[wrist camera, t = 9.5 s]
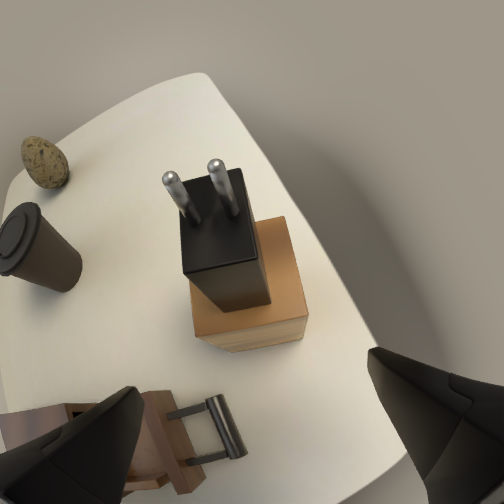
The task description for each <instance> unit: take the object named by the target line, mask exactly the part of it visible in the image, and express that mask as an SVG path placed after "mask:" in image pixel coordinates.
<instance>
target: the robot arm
mask: <svg viewBox="0 0 504 504" xmlns="http://www.w3.org/2000/svg"><path fill="white" fill-rule="evenodd" d="M367 367H368V372H369V374H370V377H371V379H372V382H373V384H374V387H375V390H376V392H377V395H378V397H379V400H380V402H381V404H382V405H383V407H384V409H385V411H386V413H387V414H388V416H389V418H390V420H391V422H392V423H393V425H394V427H395V429H396V431H397V433H398V435H399V436H400V438H401V440H402V442H403V444H404V446H405V448H406V450H407V451H408V453H409V455H410V457H411V459H412V461H413V463H414V465H415V466H416V469H417V471H418V473H419V475H420V476H421V478H422V480H423V482H424V485H425V487H426V490H427V494H428V501H429V504H504V386H499V385H494V384H489V383H485V382H480V381H476V380H472V379H469V378H465V377H462V376H459V375H456V374H453V373H449V372H446V371H443V370H440V369H438V368H435V367H432V366H429V365H426V364H424V363H421V362H418V361H415V360H413V359H410V358H407V357H404V356H402V355H399V354H396V353H394V352H391V351H389V350H386V349H384V348H381V347H375V348H371V349H369V350H368V361H367ZM144 407H145V402H144V399H143V398H142V396H141V395H140V393H139V391H138V390H137V388H136V387H134V386H127V387H125V388H123V389H121V390H120V391H118V392H117V393H115V394H113V395H112V396H110V397H108V398H107V399H105V400H104V401H102V402H100V403H99V404H97V405H95V406H94V407H92V408H90V409H89V410H87V411H85V412H84V413H82V414H80V415H79V416H77V417H75V418H73V419H72V420H70V421H68V422H67V423H65V424H63V425H61V426H59V427H57V428H55V429H54V430H52V431H50V432H48V433H46V434H44V435H42V436H40V437H38V438H36V439H34V440H31V441H29V442H27V443H25V444H23V445H20V446H18V447H16V448H13V449H11V450H9V451H6V452H4V453H2V454H0V504H120V503H121V499H122V495H123V491H124V487H125V484H126V480H127V476H128V473H129V469H130V465H131V462H132V458H133V455H134V451H135V448H136V445H137V441H138V438H139V434H140V430H141V424H142V418H143V413H144Z"/></svg>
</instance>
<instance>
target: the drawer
mask: <svg viewBox="0 0 504 504" xmlns="http://www.w3.org/2000/svg"><path fill="white" fill-rule="evenodd" d="M140 395H141V396H142V398H143V399H144V402H145V407H144V413H143V418H142V424H141V430H140V434H139V438H138V441H137V445H136V448H135V451H134V455H133V458H132V462H131V465H130V469H129V473H128V476H127V480H126V484H125V487H124V491H134V490H147V489H157V488H161V487H162V486H164V485H165V484H167V483H168V482H169V481H171V482H172V484H173V486H174V488H175V490H176V492H177V494H178V495H179V494H187V493H192V492H193V491H194V490H195V489H196V488H197V487H198V486H199V485H200V484H201V483H202V482H203V481H204V480H205V479H206V476H205V474H204V472H203V470H202V467H201V465H200V464H203V463H208V462H212V461H216V460H220V459H224V458H228V457H229V458H230V459H237V458H241V457H243V456H245V455H247V454H248V452H247V450H246V447H245V445H244V443H243V441H242V438H241V436H240V434H239V432H238V429H237V427H236V425H235V422H234V420H233V417H232V415H231V413H230V410H229V408H228V405H227V403H226V400H225V398H224V395H223V394H220V395H217V396H213V397H210V398H207V399H205V402H204V403H201V404H198V405H194V406H191V407H187V408H184V409H180V410H177V407H176V404H175V402H174V399H173V396H172V393H171V390H162V391H148V392H144V393H141V394H140ZM208 409H209V412H210V414H211V417H212V419H213V422H214V424H215V426H216V429H217V431H218V434H219V436H220V438H221V441H222V443H223V445H224V447H225V450H221V451H217V452H213V453H209V454H205V455H201V456H196V454H195V452H194V450H193V447H192V445H191V442H190V440H189V438H188V435H187V433H186V430H185V428H184V425H183V423H182V420H181V417H184V416H188V415H191V414H195V413H198V412H202V411H205V410H208Z"/></svg>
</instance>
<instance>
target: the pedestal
mask: <svg viewBox="0 0 504 504" xmlns="http://www.w3.org/2000/svg"><path fill="white" fill-rule="evenodd" d="M255 224H256V228H257V232H258V236H259V240H260V245H261V250H262V255H263V260H264V265H265V270H266V275H267V280H268V285H269V290H270V295H271V300H272V303H271V304H268V305H263V306H258V307H253V308H248V309H243V310H238V311H232V312H227V313H223V312H222V311H221V310H220V309H219V308H218V307H217V306H216V305H215V304H214V303H213V302H212V301H210V300H209V299H208V298H207V297H206V296H205V295H204V294H203V293H202V292H201V291H200V290H199V289H198V288H197V287H196V286H195V285H194V284H193V283H192V282H191V281H190V280H189V284H190V295H191V305H192V314H193V323H194V331H195V337H197V338H199V339H202V340H204V341H206V342H208V343H211V344H213V345H216V346H218V347H220V348H223V349H225V350H228V351H230V352H238V351H244V350H249V349H255V348H260V347H266V346H271V345H276V344H281V343H286V342H290V341H295V340H300V339H303V336H304V332H305V328H306V324H307V319H308V315H309V314H308V309H307V305H306V301H305V296H304V292H303V288H302V284H301V280H300V276H299V272H298V267H297V263H296V259H295V255H294V251H293V248H292V244H291V240H290V236H289V232H288V228H287V224H286V221H285V217H284V216H281V217H277V218H272V219H267V220H262V221H258V222H255Z"/></svg>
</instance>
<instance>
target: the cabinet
mask: <svg viewBox="0 0 504 504" xmlns="http://www.w3.org/2000/svg"><path fill="white" fill-rule="evenodd" d="M97 404H99V403H83V404H77V403H63V404H58V405H53V406H48V407H43V408H38V409H33V410H27V411H21V412H15V413H8V414H2V415H0V429H1V433H2V437H3V440H4V444H5V447H6V451H9V450H11V449H13V448H16V447H18V446H20V445H23V444H25V443H27V442H29V441H31V440H34V439H36V438H38V437H40V436H42V435H44V434H46V433H48V432H50V431H52V430H54V429H55V428H57V427H59V426H61V425H63V424H65V423H67V422H68V421H70V420H72V419H73V418H75V417H77V416H79V415H80V414H82V413H84V412H85V411H87V410H89V409H90V408H92V407H94V406H95V405H97ZM132 492H134V491H123V495H122V498H123V497H124V496H126V495H128V494H130V493H132Z"/></svg>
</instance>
